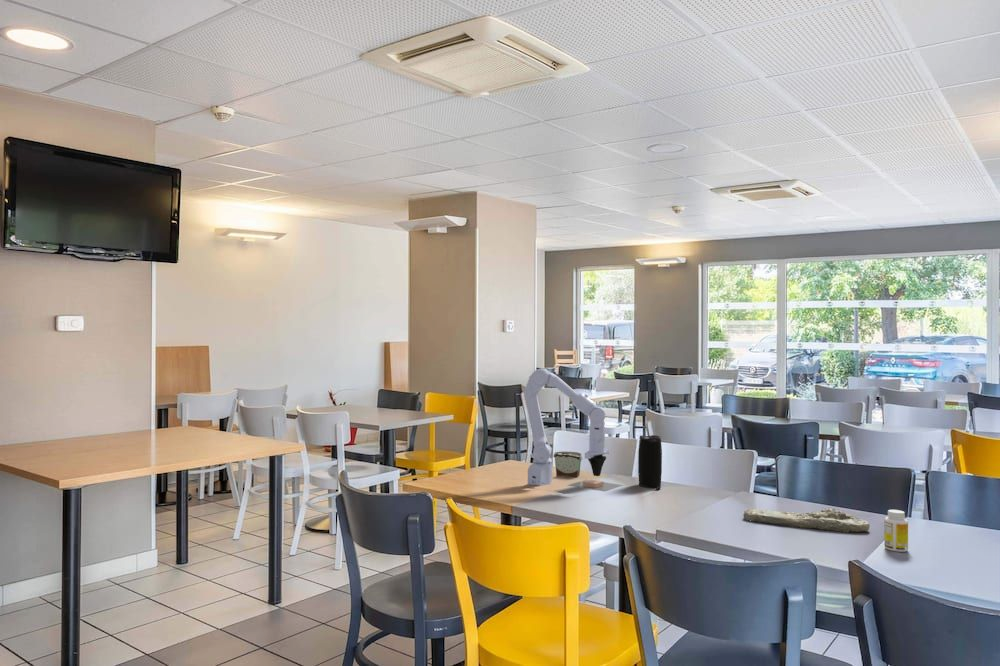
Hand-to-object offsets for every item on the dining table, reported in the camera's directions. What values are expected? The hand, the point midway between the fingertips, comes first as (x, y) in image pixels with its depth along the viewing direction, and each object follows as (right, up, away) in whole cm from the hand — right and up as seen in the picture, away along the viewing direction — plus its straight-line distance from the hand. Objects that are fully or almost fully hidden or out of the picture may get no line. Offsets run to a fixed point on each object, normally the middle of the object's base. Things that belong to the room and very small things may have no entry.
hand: (596, 475), depth 265 cm
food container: (-8, -5, +19) cm, 21 cm away
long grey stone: (+56, -5, -50) cm, 75 cm away
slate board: (-1, -5, -1) cm, 5 cm away
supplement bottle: (+70, -5, -75) cm, 102 cm away
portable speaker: (+20, -5, -1) cm, 20 cm away
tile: (0, -3, 0) cm, 3 cm away
